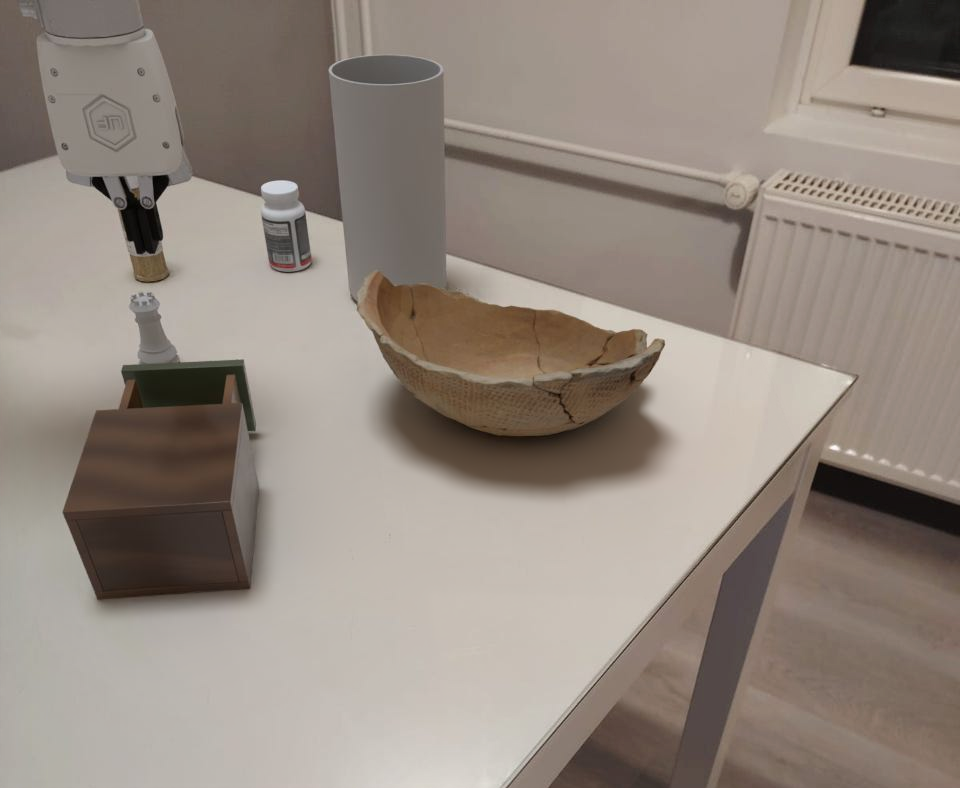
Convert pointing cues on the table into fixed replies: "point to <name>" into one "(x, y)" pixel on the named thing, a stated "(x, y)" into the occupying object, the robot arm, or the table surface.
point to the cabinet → (165, 501)
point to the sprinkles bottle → (145, 264)
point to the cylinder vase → (391, 167)
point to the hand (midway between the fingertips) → (148, 247)
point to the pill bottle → (285, 227)
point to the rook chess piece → (151, 331)
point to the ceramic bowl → (502, 358)
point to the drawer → (188, 385)
